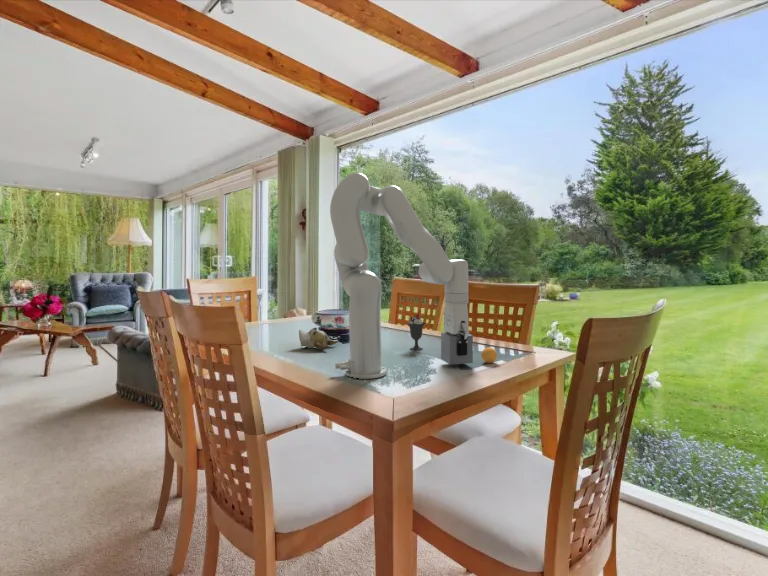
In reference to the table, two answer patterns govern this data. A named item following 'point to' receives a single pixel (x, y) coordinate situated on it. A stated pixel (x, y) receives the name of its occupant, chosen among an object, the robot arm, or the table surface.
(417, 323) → the sundae
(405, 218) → the robot arm
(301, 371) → the table surface
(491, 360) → the ball
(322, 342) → the ceramic sculpture
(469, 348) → the grey matte cube
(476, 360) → the table surface
